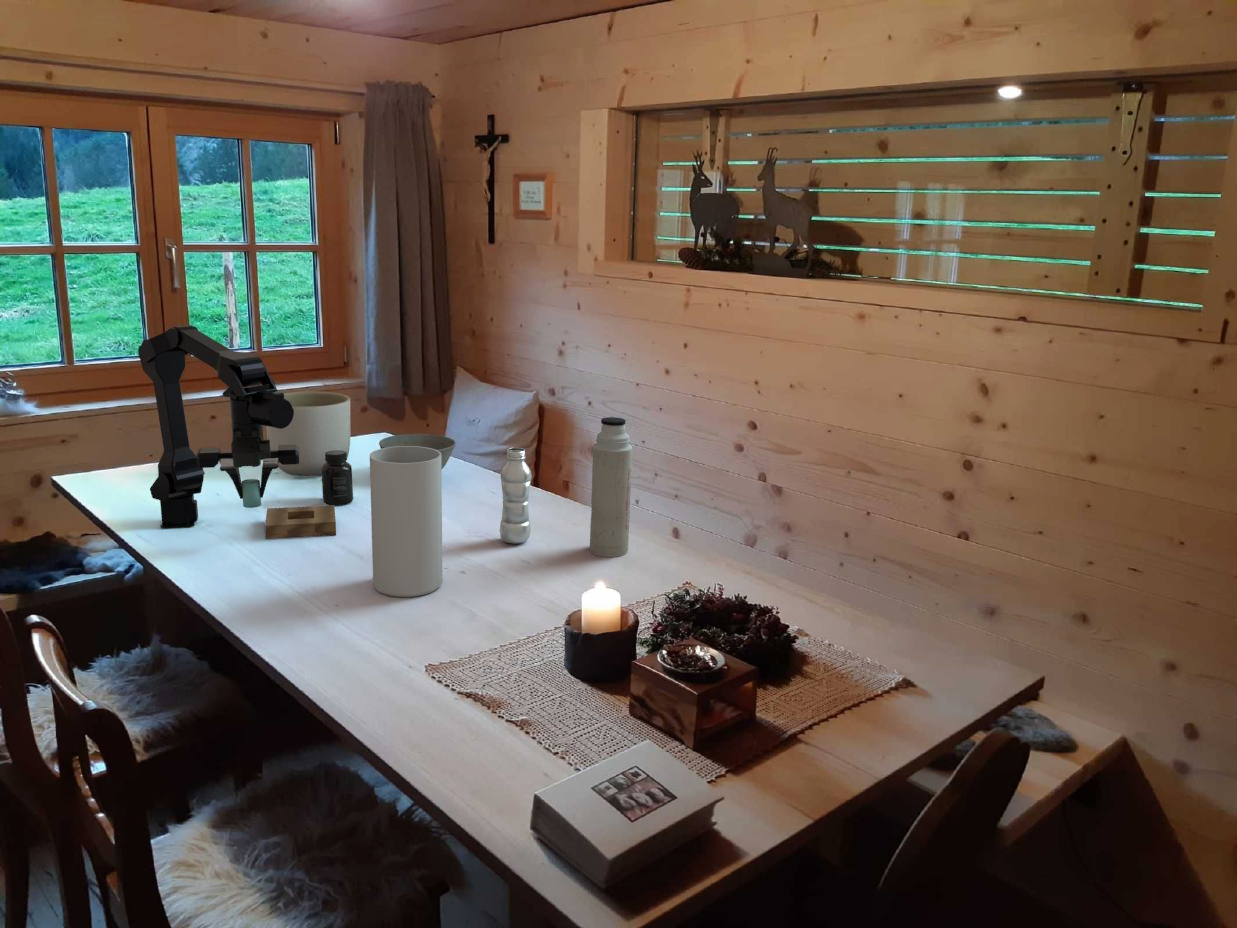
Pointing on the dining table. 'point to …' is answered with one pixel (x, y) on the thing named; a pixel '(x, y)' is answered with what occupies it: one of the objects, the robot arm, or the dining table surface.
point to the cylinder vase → (406, 520)
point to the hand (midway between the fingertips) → (251, 497)
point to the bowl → (422, 443)
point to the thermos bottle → (611, 489)
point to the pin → (251, 493)
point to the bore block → (300, 522)
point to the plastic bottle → (515, 497)
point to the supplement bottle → (337, 479)
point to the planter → (313, 430)
